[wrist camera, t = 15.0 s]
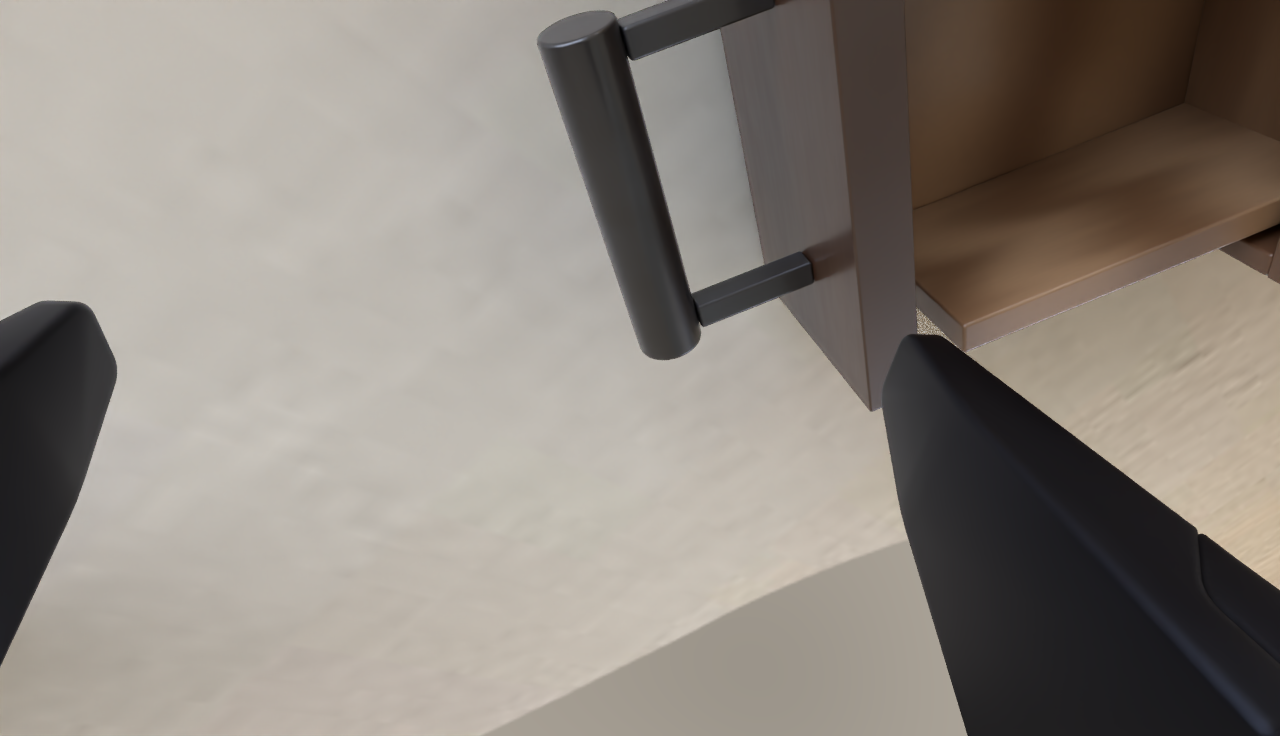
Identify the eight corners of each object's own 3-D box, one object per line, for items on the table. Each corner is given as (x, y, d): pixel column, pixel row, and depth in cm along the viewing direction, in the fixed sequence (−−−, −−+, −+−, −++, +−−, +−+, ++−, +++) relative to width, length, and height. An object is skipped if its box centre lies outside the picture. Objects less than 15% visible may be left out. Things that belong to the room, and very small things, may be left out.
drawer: (627, 340, 22) (696, 484, 17) (467, -116, 14) (518, -64, 10) (1171, 123, 22) (1366, 209, 18) (1272, -406, 15) (1629, -469, 11)
